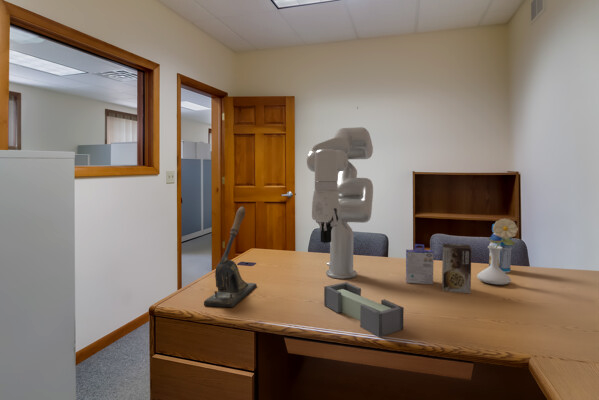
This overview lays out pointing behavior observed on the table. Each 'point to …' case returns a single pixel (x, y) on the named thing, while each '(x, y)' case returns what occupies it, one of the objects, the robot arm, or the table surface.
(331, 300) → the cap sliding
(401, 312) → the cap fixed
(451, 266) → the coffee box
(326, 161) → the robot arm
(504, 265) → the beverage bottle
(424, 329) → the table surface
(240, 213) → the embossing press
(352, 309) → the pale green long block
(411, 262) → the ink cartridge box
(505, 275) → the flower in vase
